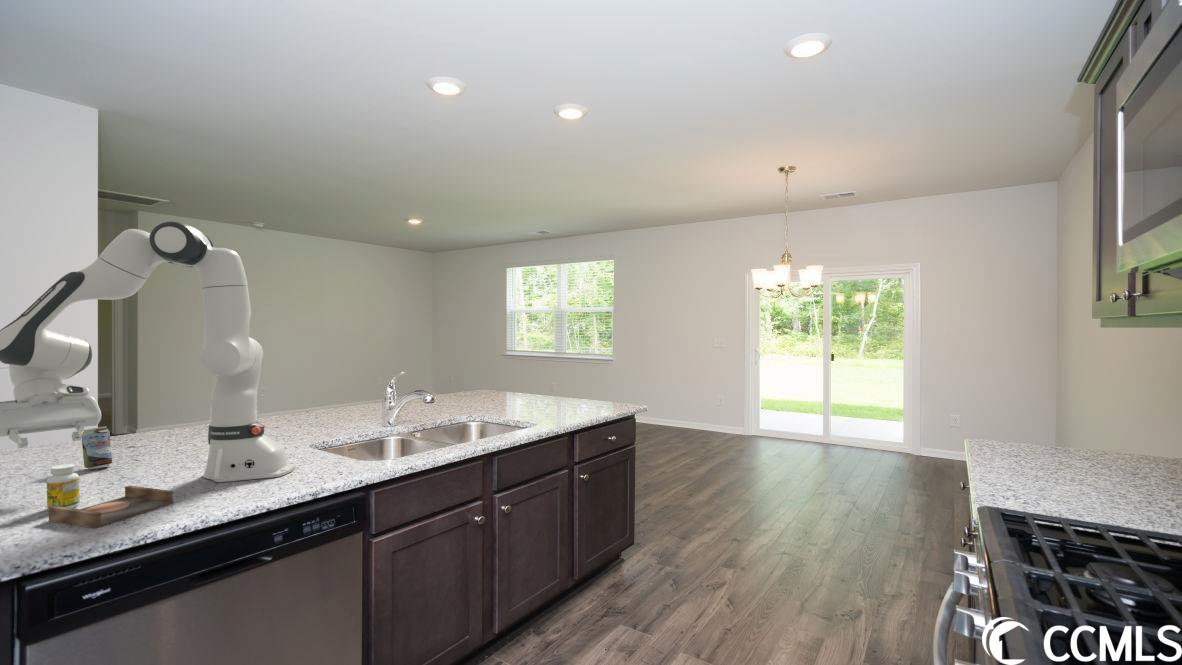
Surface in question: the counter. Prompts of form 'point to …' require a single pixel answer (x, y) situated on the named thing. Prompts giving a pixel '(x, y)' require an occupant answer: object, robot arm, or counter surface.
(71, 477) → the supplement bottle
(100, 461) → the beverage can
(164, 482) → the counter surface
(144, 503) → the walled bay
